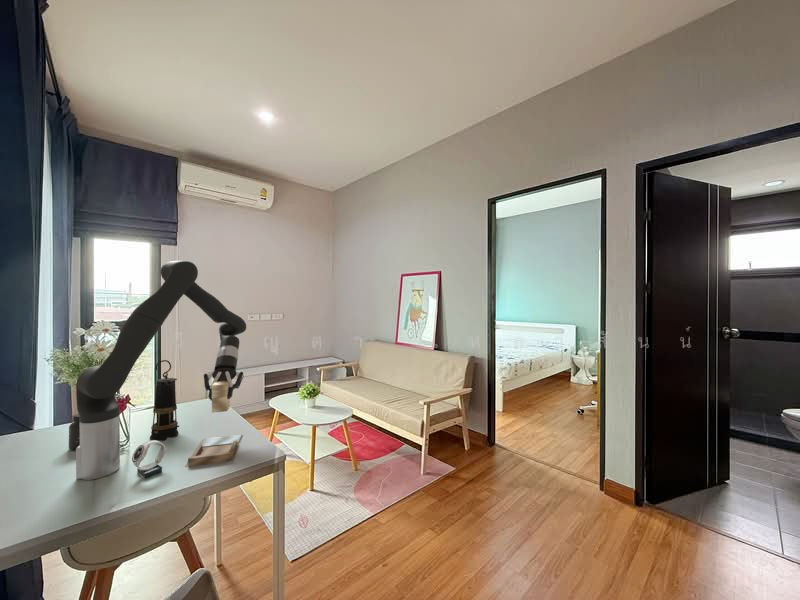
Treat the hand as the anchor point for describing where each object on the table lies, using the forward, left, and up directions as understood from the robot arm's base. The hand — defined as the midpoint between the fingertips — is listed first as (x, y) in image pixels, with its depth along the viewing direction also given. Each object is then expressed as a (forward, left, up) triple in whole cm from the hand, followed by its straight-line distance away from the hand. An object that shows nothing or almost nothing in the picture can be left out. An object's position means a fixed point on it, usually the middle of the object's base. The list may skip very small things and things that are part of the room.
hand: (220, 398), depth 118 cm
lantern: (-23, +16, -18) cm, 34 cm away
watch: (-16, -16, -18) cm, 29 cm away
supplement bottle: (-48, +14, -18) cm, 53 cm away
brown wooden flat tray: (0, -5, -18) cm, 19 cm away
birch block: (0, +2, -5) cm, 5 cm away
